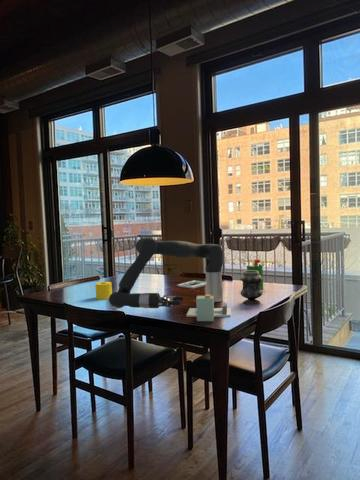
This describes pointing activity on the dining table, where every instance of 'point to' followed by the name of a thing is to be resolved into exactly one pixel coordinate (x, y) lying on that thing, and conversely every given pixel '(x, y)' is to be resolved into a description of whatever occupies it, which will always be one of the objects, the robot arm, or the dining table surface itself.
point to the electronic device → (192, 283)
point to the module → (205, 308)
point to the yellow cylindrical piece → (103, 290)
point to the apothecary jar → (251, 287)
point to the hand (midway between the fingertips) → (181, 300)
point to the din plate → (217, 311)
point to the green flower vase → (257, 268)
